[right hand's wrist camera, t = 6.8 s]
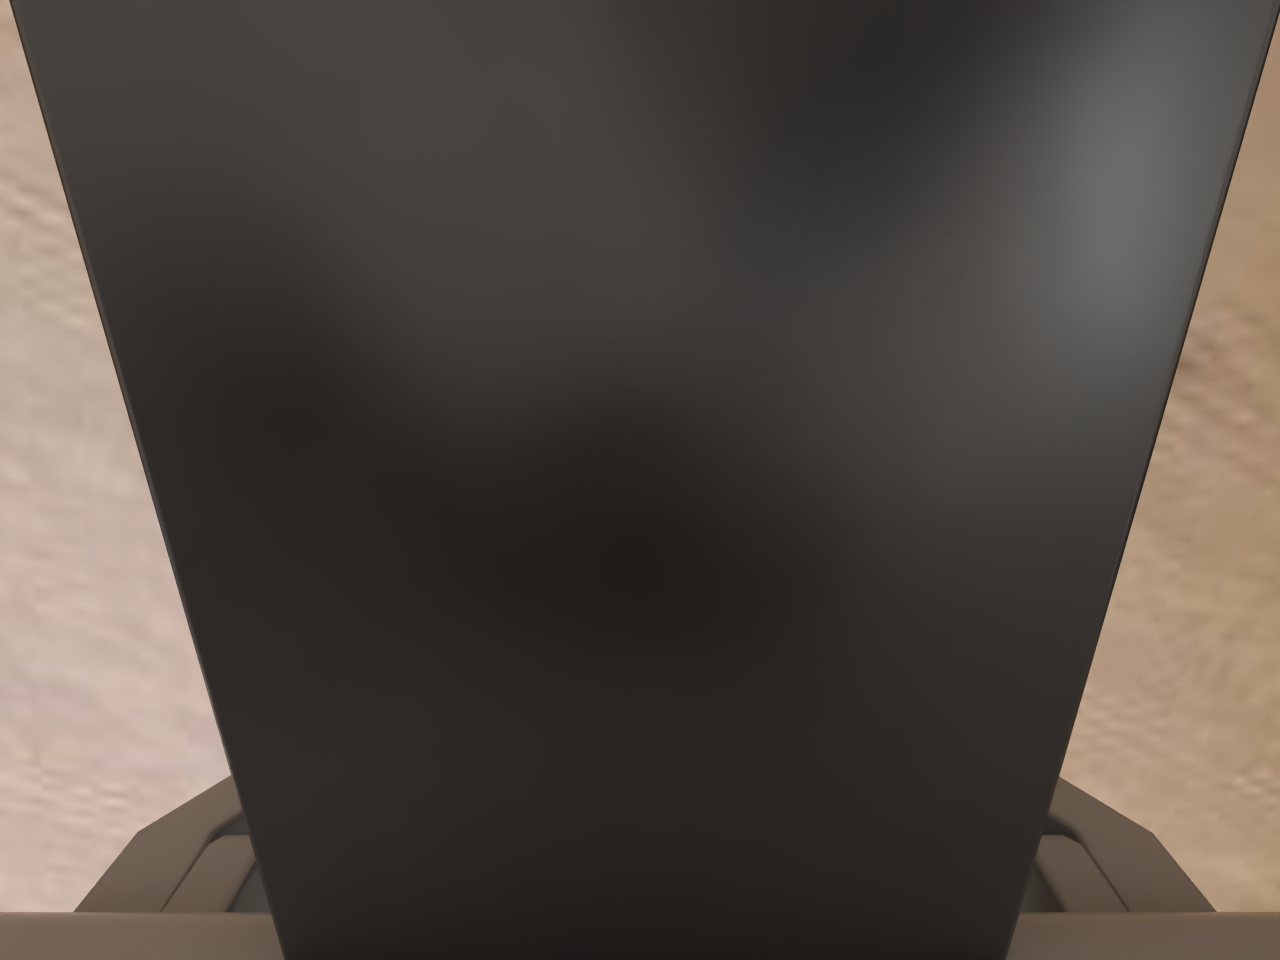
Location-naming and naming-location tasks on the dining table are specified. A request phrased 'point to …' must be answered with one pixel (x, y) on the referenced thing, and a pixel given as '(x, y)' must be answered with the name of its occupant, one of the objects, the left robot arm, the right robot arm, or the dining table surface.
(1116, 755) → the dining table surface
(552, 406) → the bar
